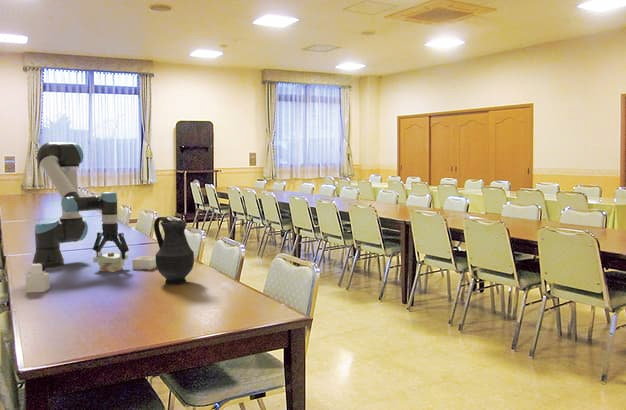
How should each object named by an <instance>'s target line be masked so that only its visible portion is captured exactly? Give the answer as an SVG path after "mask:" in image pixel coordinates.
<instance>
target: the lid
mask: <svg viewBox="0 0 626 410" xmlns="http://www.w3.org/2000/svg"><path fill="white" fill-rule="evenodd" d="M125 257H126V258H125V259H124V261H127V260H129V254H126V253H125ZM92 262H93V263H97V264H98V263H114V264H115V263H118V262H120V253H114V252H107V253H104V254H102V255H100V256H97V255H96V256H93V259H92Z"/></svg>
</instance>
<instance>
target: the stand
mask: <svg viewBox="0 0 626 410" xmlns="http://www.w3.org/2000/svg"><path fill="white" fill-rule="evenodd" d="M98 266H99V272H110V273H114V272H118V271H121V270H123V269H124V267H123V266H124V265H123V266H120V262H118V263H115V264H114V263H99V265H98Z"/></svg>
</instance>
